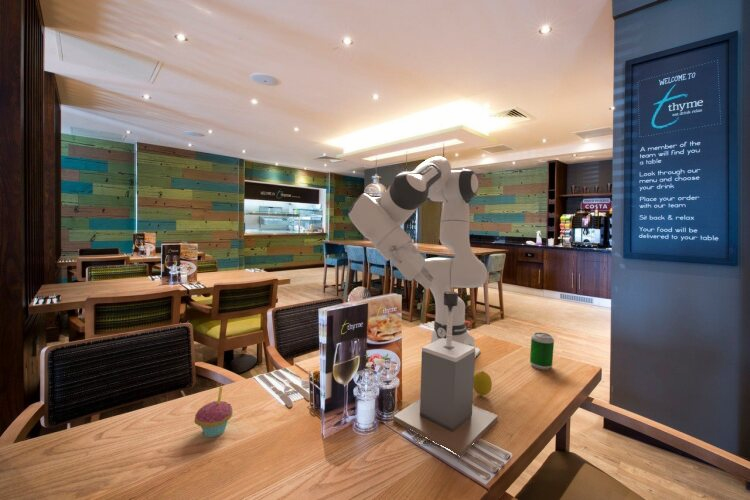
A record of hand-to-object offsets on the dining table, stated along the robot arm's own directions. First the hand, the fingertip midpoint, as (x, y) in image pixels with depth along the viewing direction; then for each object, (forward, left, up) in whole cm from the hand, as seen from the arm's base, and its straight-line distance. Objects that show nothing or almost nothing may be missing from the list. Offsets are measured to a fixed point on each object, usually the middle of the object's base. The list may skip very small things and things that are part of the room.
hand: (431, 283), depth 89 cm
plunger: (-3, +4, -26) cm, 27 cm away
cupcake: (+42, -35, -37) cm, 66 cm away
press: (-3, +4, -37) cm, 37 cm away
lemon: (-22, +5, -37) cm, 43 cm away
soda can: (-58, +11, -37) cm, 70 cm away
